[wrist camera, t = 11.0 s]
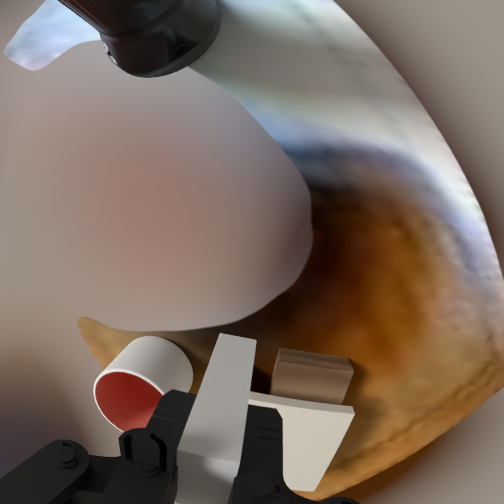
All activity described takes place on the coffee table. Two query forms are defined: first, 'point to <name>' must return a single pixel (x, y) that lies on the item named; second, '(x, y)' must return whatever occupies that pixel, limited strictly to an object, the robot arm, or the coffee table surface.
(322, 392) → the board
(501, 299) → the coffee table surface
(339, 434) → the shelf
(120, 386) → the cup
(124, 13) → the robot arm
